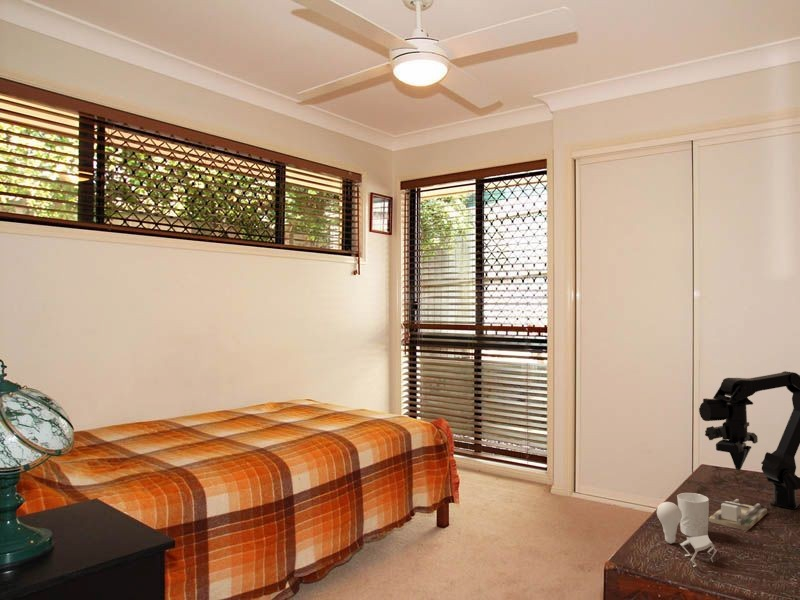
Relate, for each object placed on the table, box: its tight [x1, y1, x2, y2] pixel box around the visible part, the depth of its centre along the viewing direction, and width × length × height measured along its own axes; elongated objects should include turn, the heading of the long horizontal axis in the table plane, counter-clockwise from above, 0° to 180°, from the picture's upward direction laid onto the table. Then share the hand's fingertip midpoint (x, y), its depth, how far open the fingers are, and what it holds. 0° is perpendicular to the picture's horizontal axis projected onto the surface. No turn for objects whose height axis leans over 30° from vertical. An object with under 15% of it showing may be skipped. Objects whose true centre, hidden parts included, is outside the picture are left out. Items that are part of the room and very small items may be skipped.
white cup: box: [676, 492, 710, 538], centre depth 159 cm, size 8×8×10 cm
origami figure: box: [679, 534, 718, 568], centre depth 142 cm, size 12×8×5 cm
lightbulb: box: [656, 501, 682, 544], centre depth 153 cm, size 6×6×11 cm
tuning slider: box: [713, 499, 749, 522], centre depth 165 cm, size 4×9×4 cm, turn 42°
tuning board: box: [708, 498, 768, 532], centre depth 169 cm, size 18×10×2 cm, turn 132°
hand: (738, 469), depth 176 cm, fingers closed
